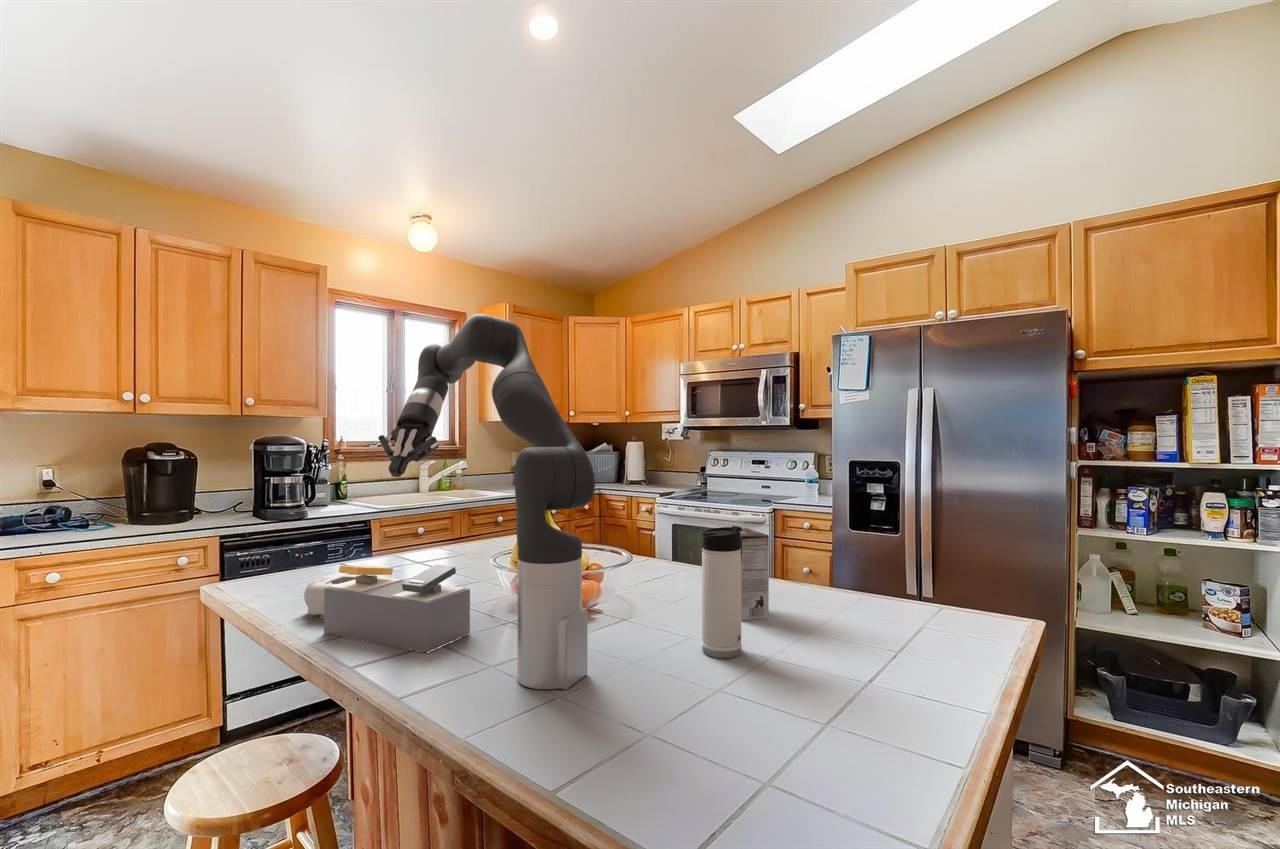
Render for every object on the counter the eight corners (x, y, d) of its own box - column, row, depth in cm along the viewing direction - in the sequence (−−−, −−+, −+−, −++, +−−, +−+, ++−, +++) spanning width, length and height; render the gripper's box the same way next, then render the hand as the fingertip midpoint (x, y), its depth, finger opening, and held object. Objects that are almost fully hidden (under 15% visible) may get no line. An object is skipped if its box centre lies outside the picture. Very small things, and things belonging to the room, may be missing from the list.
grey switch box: (469, 634, 104) (469, 580, 104) (427, 653, 95) (428, 594, 95) (370, 617, 114) (371, 568, 114) (323, 633, 104) (324, 580, 105)
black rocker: (456, 573, 104) (454, 565, 104) (422, 593, 97) (421, 585, 97) (436, 570, 106) (435, 563, 106) (402, 590, 99) (401, 582, 98)
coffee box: (719, 608, 120) (718, 528, 120) (747, 605, 122) (747, 527, 122) (739, 621, 111) (739, 535, 111) (770, 618, 113) (769, 533, 113)
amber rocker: (391, 574, 110) (393, 567, 110) (356, 574, 103) (357, 566, 103) (374, 572, 112) (375, 565, 112) (338, 572, 105) (340, 564, 105)
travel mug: (750, 655, 94) (750, 529, 94) (714, 661, 91) (713, 531, 92) (730, 642, 99) (730, 523, 100) (695, 647, 97) (695, 526, 97)
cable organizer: (292, 584, 113) (348, 587, 111) (337, 569, 125) (388, 572, 123) (292, 619, 113) (348, 623, 111) (337, 601, 125) (388, 604, 123)
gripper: (386, 399, 128) (355, 461, 116) (446, 401, 127) (421, 463, 115) (397, 423, 133) (369, 484, 122) (454, 425, 133) (432, 486, 121)
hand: (394, 474), depth 119 cm, fingers closed
